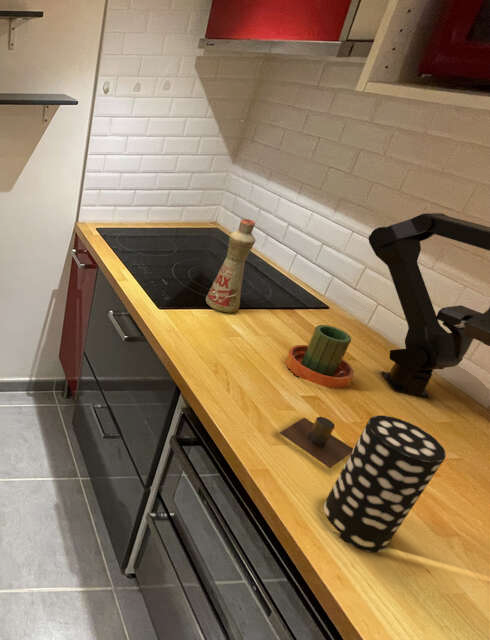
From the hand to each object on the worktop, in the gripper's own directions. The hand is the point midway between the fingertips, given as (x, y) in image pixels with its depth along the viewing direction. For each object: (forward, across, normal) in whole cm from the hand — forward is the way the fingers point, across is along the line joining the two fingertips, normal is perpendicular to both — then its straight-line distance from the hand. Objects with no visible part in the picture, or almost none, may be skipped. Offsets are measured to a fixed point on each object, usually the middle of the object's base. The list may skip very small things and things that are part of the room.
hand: (487, 372), depth 88 cm
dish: (+12, -19, -16) cm, 27 cm away
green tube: (+11, -19, -16) cm, 27 cm away
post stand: (+13, -2, -35) cm, 38 cm away
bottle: (+10, -49, -16) cm, 52 cm away
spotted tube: (+14, +13, -44) cm, 48 cm away
